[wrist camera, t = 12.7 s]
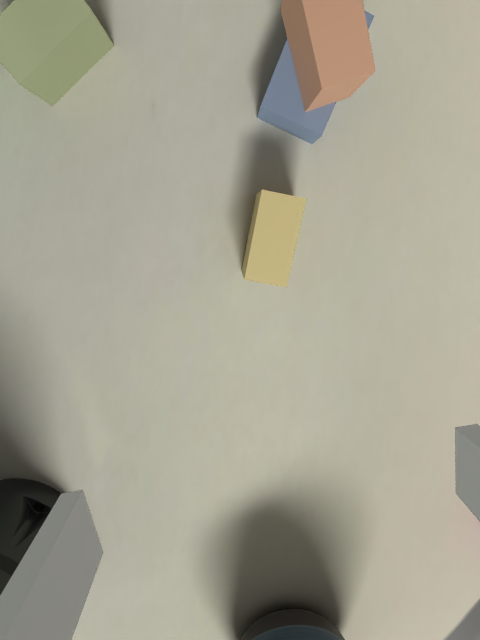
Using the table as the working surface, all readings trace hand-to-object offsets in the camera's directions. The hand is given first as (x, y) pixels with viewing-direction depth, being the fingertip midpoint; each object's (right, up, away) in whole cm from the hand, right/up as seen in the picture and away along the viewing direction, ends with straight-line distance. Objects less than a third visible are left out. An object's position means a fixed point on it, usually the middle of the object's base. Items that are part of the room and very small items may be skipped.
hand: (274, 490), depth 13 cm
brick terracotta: (+5, +29, +18) cm, 34 cm away
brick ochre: (+2, +15, +26) cm, 30 cm away
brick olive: (-17, +30, +21) cm, 41 cm away
